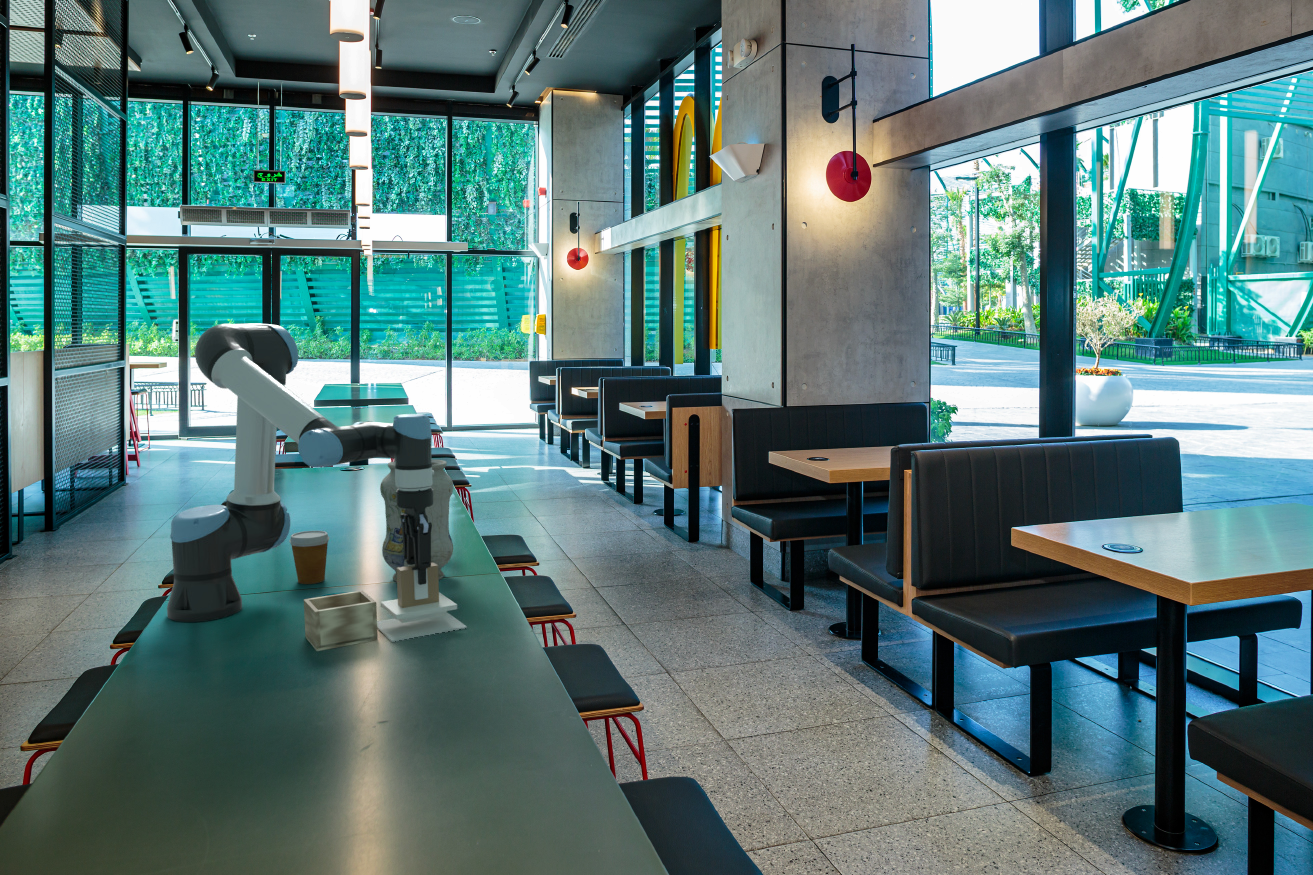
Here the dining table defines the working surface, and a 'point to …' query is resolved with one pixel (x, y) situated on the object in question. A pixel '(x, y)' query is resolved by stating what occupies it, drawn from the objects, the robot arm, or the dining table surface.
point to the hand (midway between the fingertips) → (418, 596)
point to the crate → (340, 620)
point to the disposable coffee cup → (310, 555)
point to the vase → (435, 514)
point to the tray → (418, 627)
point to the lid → (421, 608)
